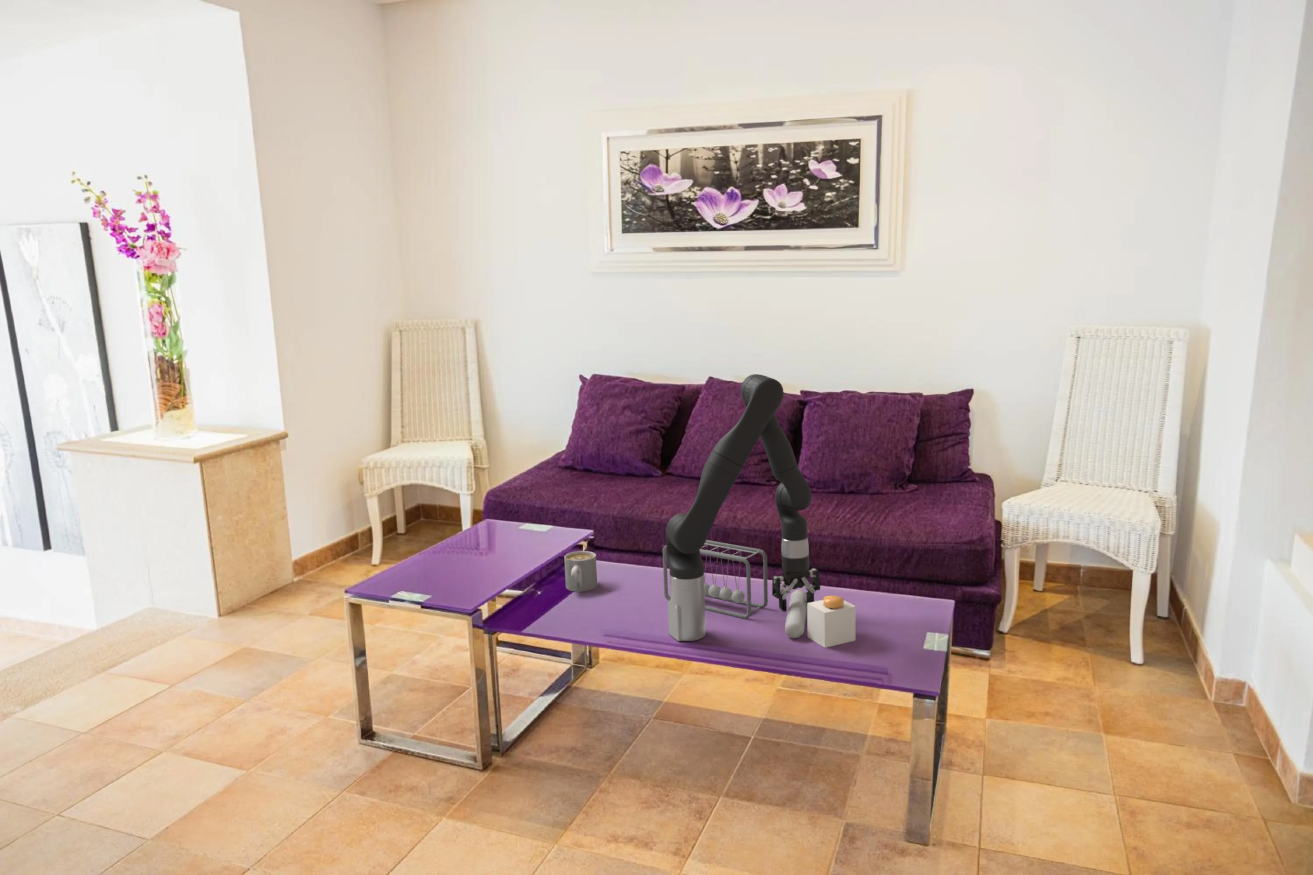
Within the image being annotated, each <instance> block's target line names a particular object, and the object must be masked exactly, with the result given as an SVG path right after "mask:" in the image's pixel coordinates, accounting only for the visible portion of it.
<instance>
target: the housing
mask: <svg viewBox="0 0 1313 875" xmlns="http://www.w3.org/2000/svg"><path fill="white" fill-rule="evenodd" d="M856 609H857V608H856V605H854V604H852V603H850V602H849V601H847V600H844V605H843V606H842V607H840V608H838V609H833V610H831V609H829V608H828V607H826V606H824V604H823V599H821V600H820V599H819V600H814V602H810V603H807V613H806V618H807V619H806V620H807V622H806V623H807V634H806V635H807V637H806V638H809V639H810V640H811V641H813V642H815V643H816V644H818V645H819V646H821V647H823V648H825V649H826V648H830V647H834V646H838V645H842V644H847V643H851V642H855V641H856V621H857V620H856V617H857V616H856V614H857V613H856V612H857V610H856Z"/></svg>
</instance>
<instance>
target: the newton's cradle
mask: <svg viewBox="0 0 1313 875" xmlns="http://www.w3.org/2000/svg"><path fill="white" fill-rule="evenodd" d="M705 546H706V549H702V548H704V547H705ZM708 546H711V547H714V548H712V549H711V550H708ZM702 548H701V549H700V555H703V556H706V557H705V561H707V559H708V557H709V560H710V561H709V562H710V563H712V561H711V560H712V558H711V557H714V558H716V562H718V559H719V558H720V562H721V563H720V564H723V560H722V559H724V560H727V565H729V562H730V561H732V563H734V562H735V561H736V562H739V563H742V564H745V568H746V575H745V576H746V597H745V593H744V591H743V590H741V589H740V586H738V584H737V582H735V587H736V589H735V590H733V591H732V589H731V588H730V587H728V585H727V584H728V581H726V583H725V580H723V584H724V587H722V588H721V587H720V586H719V585H717V578H715V579H712V583H713V584H712V585H710V584H708V583H707V582H705V581H706V578H704V592H705V597H706V598H707V597H708V598H712V599H717V600H721V601H725V602H730V603H736V604H740V605H743V606H746V614H743V613H739V612H735V611H730V610H725V609H721V608H718V607H712V606H710V605H709V606H708V605H705V611H709V612H713V613H718V614H721V615H722V614H723V615H727V616H731V617H734V618H735V617H736V618H739V619H743V620H744V619H748V618H749V617H751V615H752V613H754V612H755V611H756V610H758V609H765V608H766V607H767V606H768V602H769V601H768V600H769V598H768V597H769V596H768V594H769V592H768V589H769V588H768V556H767V553H766V552H765V551H764V550H763V549H761V548H755V547H749V546H742V545H737V544H731V543H726V542H721V541H714V540H709V539H707V540H706V542H705V543H704V545H703V546H702ZM719 548H722V549H726V550H728V553H725V552H723V551H722V552H719V551H712V550H715V549H717V550H719ZM730 550H735V551H737V552H736V553H733V554H730ZM742 552H744V553H751V554H750V555H748V556H742ZM737 553H739V555H735V554H737ZM757 554H760V555H761V556H762V562H763V563H762V564H763V566H762V567H763V568H762V569H763V570H762V571H763V574H762V575H763V577H762V578H763V603H762V604H760V603H758V602H757V603H756V602H753V601H752V591H751V590H752V589H751V586H752V585H751V584H752V582H751V577H752V576H751V564H750V562H749V561H748V560H747V559H749V558H751V557H753V556H755V555H757ZM732 567H733V569H735V565H734V564H732ZM662 568H663V570H662V571H663V594H664V597H665V599H666V600H667V602H668V601H669V600H671V597H670V594H669V587H668V561H667V549H666V544H665V545H664V546H663V548H662ZM706 568H707V565H704V574H706V572H707V569H706ZM721 568H722V572H724V568H723V566H721ZM710 569H711V570H713V567H712V564H710ZM726 570H727V571H726V572H727V573H726V577H728V575H729V574H728V573H729V569H726ZM717 572H718V566H716V569H715V574H717ZM735 572H736V571H735V570H733V575H736V573H735ZM738 572H739V573H738V579H740V576H741V574H740V573H741V567H739V570H738ZM711 576H712V577H714V575H713V572H711ZM722 577H723V579H725V576H724V573H722ZM714 580H715V581H714ZM734 580H735V581H737V577H736V576H734ZM745 598H746V600H745ZM752 607H754V609H753V610H752Z"/></svg>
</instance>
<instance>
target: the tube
mask: <svg viewBox="0 0 1313 875" xmlns="http://www.w3.org/2000/svg"><path fill="white" fill-rule="evenodd" d="M806 592H807V591H804V589H803V588H799V589H794V590H793V592H792V593H790V595H789V597H790V598H789V602H788V609H787V614H786V619H785V624H784V630H785V633H786V635H787V636H788V637H789V638H790V639H797V638H800V637H801V636H802V635H803V634H804V633H805V628H806V627H805V626H806V620H807V619H806V618H807V595H806Z"/></svg>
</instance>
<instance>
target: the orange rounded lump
mask: <svg viewBox="0 0 1313 875" xmlns="http://www.w3.org/2000/svg"><path fill="white" fill-rule="evenodd" d="M822 600H823V604H824V606H826V607H828V608H829V609H831V610H833V609H838V608H840V607H842V606H843V605H844V597H842V596H840V595H836V594H835V595H831V594H830V595H826V596H824V597H823V599H822Z"/></svg>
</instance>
